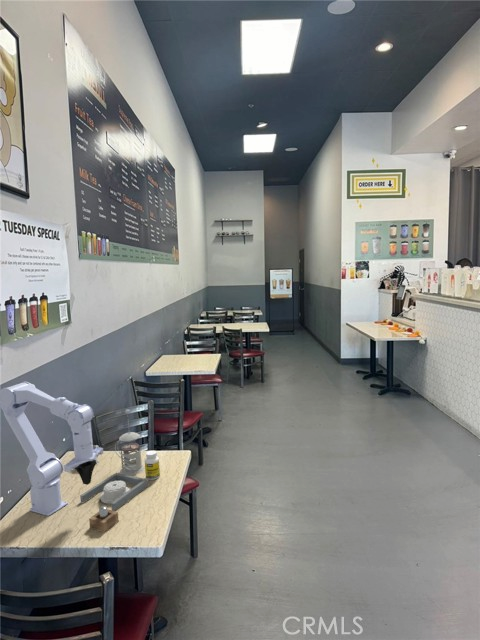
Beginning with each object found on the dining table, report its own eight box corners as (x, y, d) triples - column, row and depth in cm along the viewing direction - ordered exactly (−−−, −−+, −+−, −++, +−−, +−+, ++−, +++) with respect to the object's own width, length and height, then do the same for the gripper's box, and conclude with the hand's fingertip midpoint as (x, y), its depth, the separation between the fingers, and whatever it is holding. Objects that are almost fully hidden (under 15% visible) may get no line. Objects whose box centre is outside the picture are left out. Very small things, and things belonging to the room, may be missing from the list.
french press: (136, 476, 154) (130, 414, 152) (110, 473, 158) (105, 412, 156) (149, 465, 164) (144, 406, 161) (125, 463, 167) (120, 405, 165)
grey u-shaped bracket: (80, 502, 138) (80, 495, 137) (116, 479, 153) (115, 472, 153) (114, 511, 131) (113, 503, 131) (148, 485, 147) (147, 479, 146)
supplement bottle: (146, 481, 150) (144, 456, 149) (145, 475, 155) (143, 451, 154) (160, 478, 151) (158, 454, 151) (159, 472, 157) (157, 448, 156)
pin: (98, 525, 123) (97, 509, 123) (104, 521, 125) (103, 505, 125) (104, 527, 122) (103, 510, 122) (110, 523, 124) (108, 506, 124)
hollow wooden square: (89, 527, 122) (89, 518, 122) (104, 517, 128) (103, 508, 128) (104, 532, 120) (103, 522, 120) (118, 521, 125) (117, 512, 125)
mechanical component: (94, 500, 139) (113, 507, 134) (93, 487, 139) (112, 495, 133) (117, 487, 147) (136, 493, 142) (116, 475, 147) (135, 482, 142)
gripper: (73, 454, 121) (78, 496, 122) (108, 436, 134) (112, 475, 135) (57, 450, 124) (61, 492, 125) (93, 434, 137) (96, 471, 138)
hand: (86, 483), depth 130 cm, fingers closed
